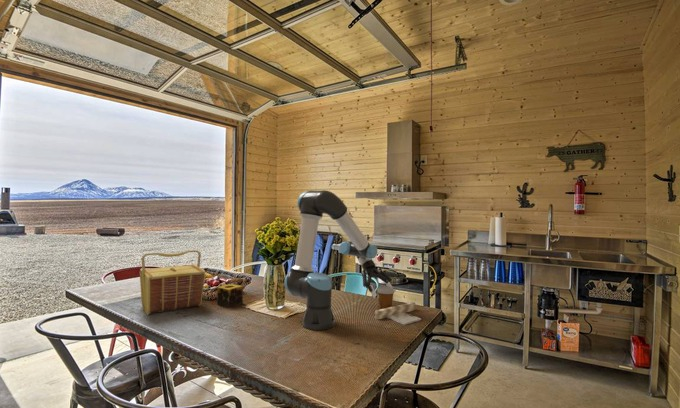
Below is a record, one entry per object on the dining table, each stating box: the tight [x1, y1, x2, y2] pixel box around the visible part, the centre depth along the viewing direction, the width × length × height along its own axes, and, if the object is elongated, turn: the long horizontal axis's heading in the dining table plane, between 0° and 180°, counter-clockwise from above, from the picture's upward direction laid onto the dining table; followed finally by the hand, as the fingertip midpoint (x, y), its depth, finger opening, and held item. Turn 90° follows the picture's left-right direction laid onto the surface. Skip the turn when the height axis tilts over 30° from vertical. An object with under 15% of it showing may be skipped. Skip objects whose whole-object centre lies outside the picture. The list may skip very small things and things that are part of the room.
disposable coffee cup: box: [376, 285, 395, 310], centre depth 177 cm, size 10×10×12 cm
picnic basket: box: [139, 249, 206, 315], centre depth 175 cm, size 29×26×30 cm
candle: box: [216, 283, 244, 308], centre depth 183 cm, size 10×10×10 cm
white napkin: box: [386, 312, 422, 326], centre depth 163 cm, size 12×12×1 cm
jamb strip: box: [374, 301, 416, 320], centre depth 170 cm, size 28×2×4 cm, turn 126°
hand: (384, 294), depth 179 cm, fingers open, 13 cm apart
